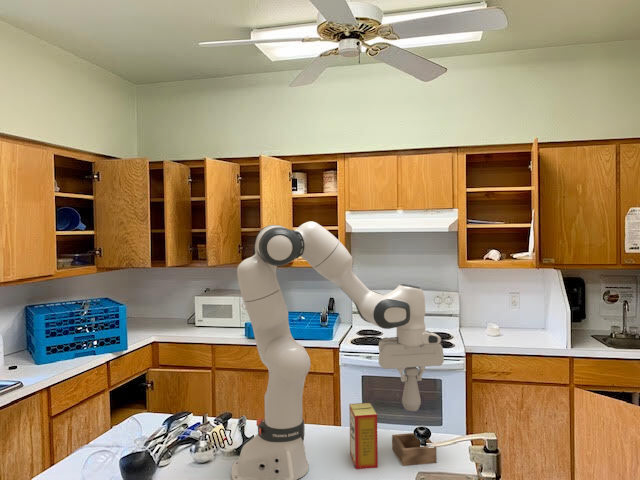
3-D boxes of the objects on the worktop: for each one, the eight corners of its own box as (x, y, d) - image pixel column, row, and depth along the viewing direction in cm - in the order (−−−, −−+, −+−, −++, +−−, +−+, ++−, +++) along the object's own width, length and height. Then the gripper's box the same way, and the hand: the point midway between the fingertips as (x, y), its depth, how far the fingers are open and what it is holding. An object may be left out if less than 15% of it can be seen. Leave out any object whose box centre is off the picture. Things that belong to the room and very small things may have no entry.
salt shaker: (419, 413, 135) (419, 370, 135) (400, 411, 136) (400, 369, 136) (421, 406, 140) (421, 365, 140) (403, 404, 142) (403, 363, 142)
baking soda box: (377, 467, 131) (377, 413, 131) (355, 469, 130) (355, 414, 130) (370, 451, 140) (369, 401, 140) (350, 453, 139) (349, 402, 139)
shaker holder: (403, 465, 131) (402, 450, 131) (392, 449, 142) (392, 434, 142) (436, 462, 133) (436, 447, 133) (423, 446, 143) (423, 432, 143)
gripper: (381, 340, 133) (381, 386, 133) (445, 337, 137) (446, 382, 137) (375, 335, 140) (376, 379, 140) (437, 332, 143) (437, 375, 143)
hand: (411, 380), depth 138 cm, fingers closed on salt shaker, 3 cm apart
